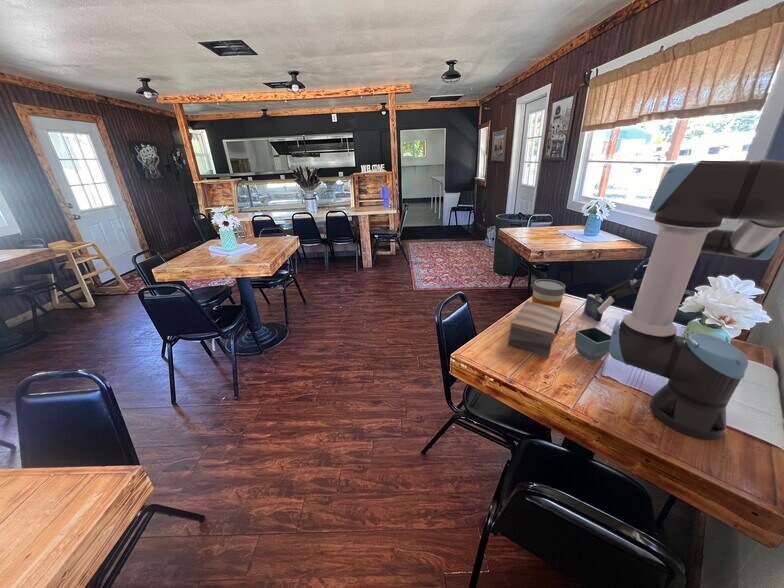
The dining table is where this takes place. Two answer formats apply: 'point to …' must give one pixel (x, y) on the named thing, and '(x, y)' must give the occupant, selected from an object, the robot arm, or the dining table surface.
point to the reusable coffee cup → (548, 292)
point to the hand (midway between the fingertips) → (616, 320)
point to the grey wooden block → (535, 328)
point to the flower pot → (592, 343)
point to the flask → (593, 307)
